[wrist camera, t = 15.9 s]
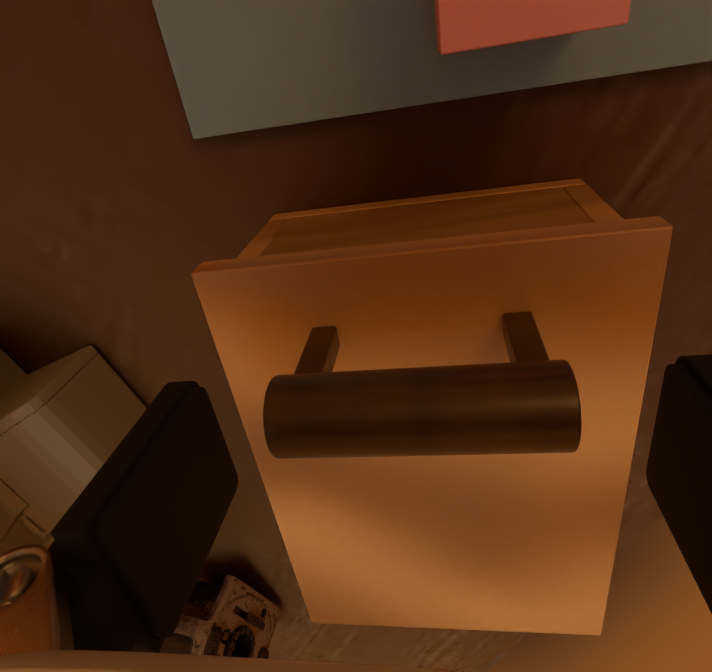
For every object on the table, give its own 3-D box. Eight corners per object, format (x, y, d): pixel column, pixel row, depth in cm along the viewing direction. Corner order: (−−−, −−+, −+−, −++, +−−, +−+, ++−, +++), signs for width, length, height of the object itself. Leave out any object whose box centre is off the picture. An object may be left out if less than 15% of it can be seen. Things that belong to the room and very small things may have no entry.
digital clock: (-57, 318, 25) (-332, 480, 16) (90, 282, 23) (-133, 446, 14) (109, 528, 32) (-14, 718, 23) (231, 516, 30) (147, 721, 21)
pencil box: (273, 213, 20) (210, 286, 14) (580, 177, 18) (654, 246, 12) (338, 485, 28) (315, 604, 22) (557, 483, 25) (595, 614, 20)
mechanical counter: (277, 729, 33) (251, 698, 26) (87, 724, 33) (12, 692, 26) (290, 610, 38) (272, 557, 31) (126, 607, 38) (72, 554, 31)
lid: (201, 261, 14) (98, 363, 9) (660, 215, 11) (795, 319, 7) (315, 605, 22) (287, 742, 18) (595, 615, 20) (641, 774, 15)
